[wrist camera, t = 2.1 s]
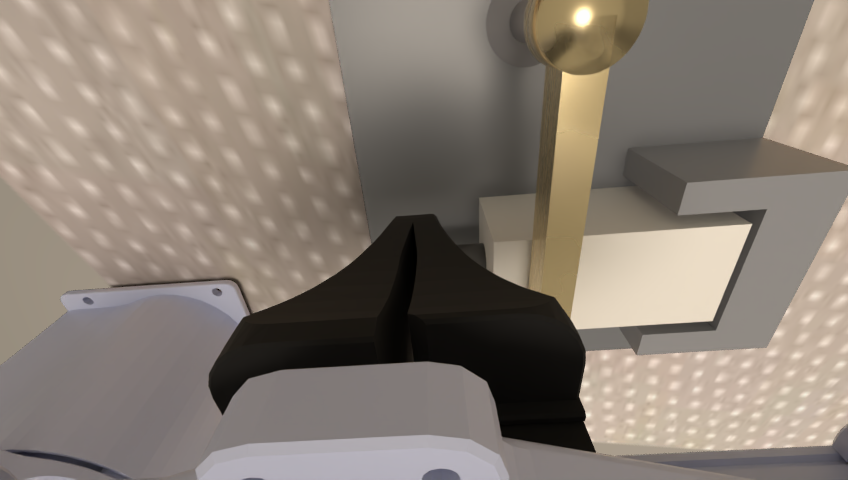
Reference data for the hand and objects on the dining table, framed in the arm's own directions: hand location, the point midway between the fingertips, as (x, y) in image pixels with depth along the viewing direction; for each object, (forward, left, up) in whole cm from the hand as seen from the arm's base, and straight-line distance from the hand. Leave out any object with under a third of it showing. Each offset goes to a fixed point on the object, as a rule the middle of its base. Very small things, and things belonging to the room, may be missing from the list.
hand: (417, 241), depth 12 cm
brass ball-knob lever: (+4, +1, -1) cm, 5 cm away
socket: (+6, -1, -6) cm, 8 cm away
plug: (+6, -3, -5) cm, 8 cm away
